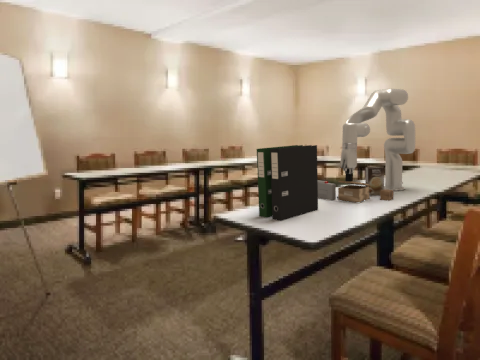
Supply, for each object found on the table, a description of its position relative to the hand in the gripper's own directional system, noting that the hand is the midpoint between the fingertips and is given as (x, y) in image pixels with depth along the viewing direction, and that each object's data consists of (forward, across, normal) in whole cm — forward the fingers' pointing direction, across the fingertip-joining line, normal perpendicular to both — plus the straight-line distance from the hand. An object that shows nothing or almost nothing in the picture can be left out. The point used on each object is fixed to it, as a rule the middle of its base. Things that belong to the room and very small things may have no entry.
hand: (348, 181), depth 190 cm
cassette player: (+12, -1, -16) cm, 20 cm away
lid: (+2, -6, 0) cm, 6 cm away
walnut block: (+10, -16, +14) cm, 24 cm away
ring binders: (+13, +38, -10) cm, 41 cm away
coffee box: (+10, -25, +3) cm, 27 cm away
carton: (+11, -6, 0) cm, 12 cm away
